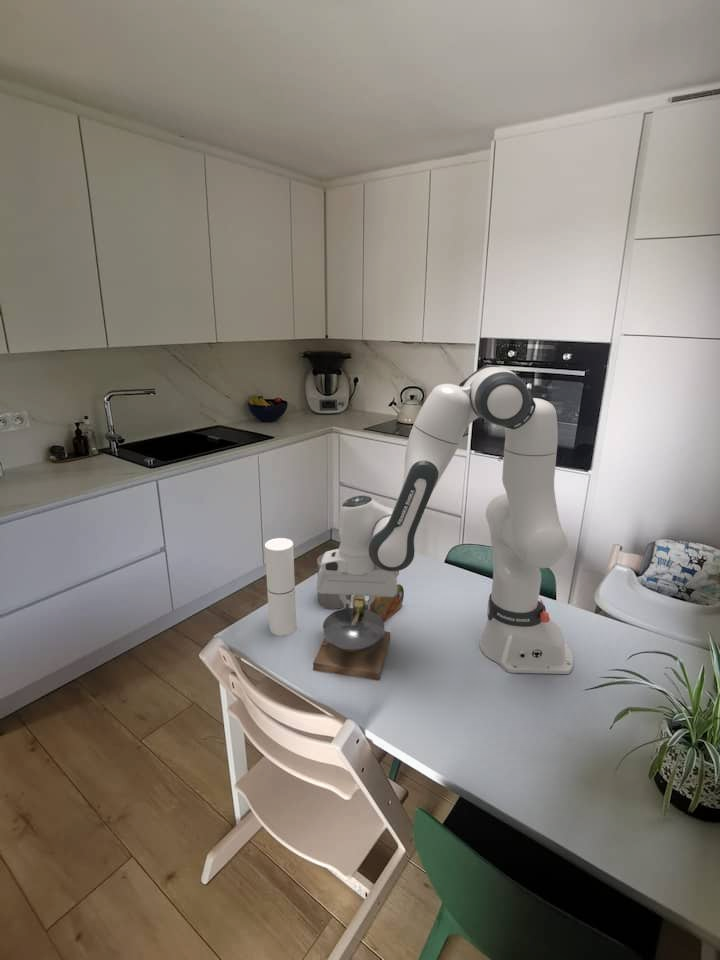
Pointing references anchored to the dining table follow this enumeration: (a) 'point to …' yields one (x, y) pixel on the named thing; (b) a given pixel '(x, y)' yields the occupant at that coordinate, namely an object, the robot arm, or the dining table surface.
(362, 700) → the dining table surface
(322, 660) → the brown square flat block
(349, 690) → the dining table surface
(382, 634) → the dark grey round piece
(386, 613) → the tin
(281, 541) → the cylindrical container
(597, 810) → the dining table surface
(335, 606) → the pillar candle
